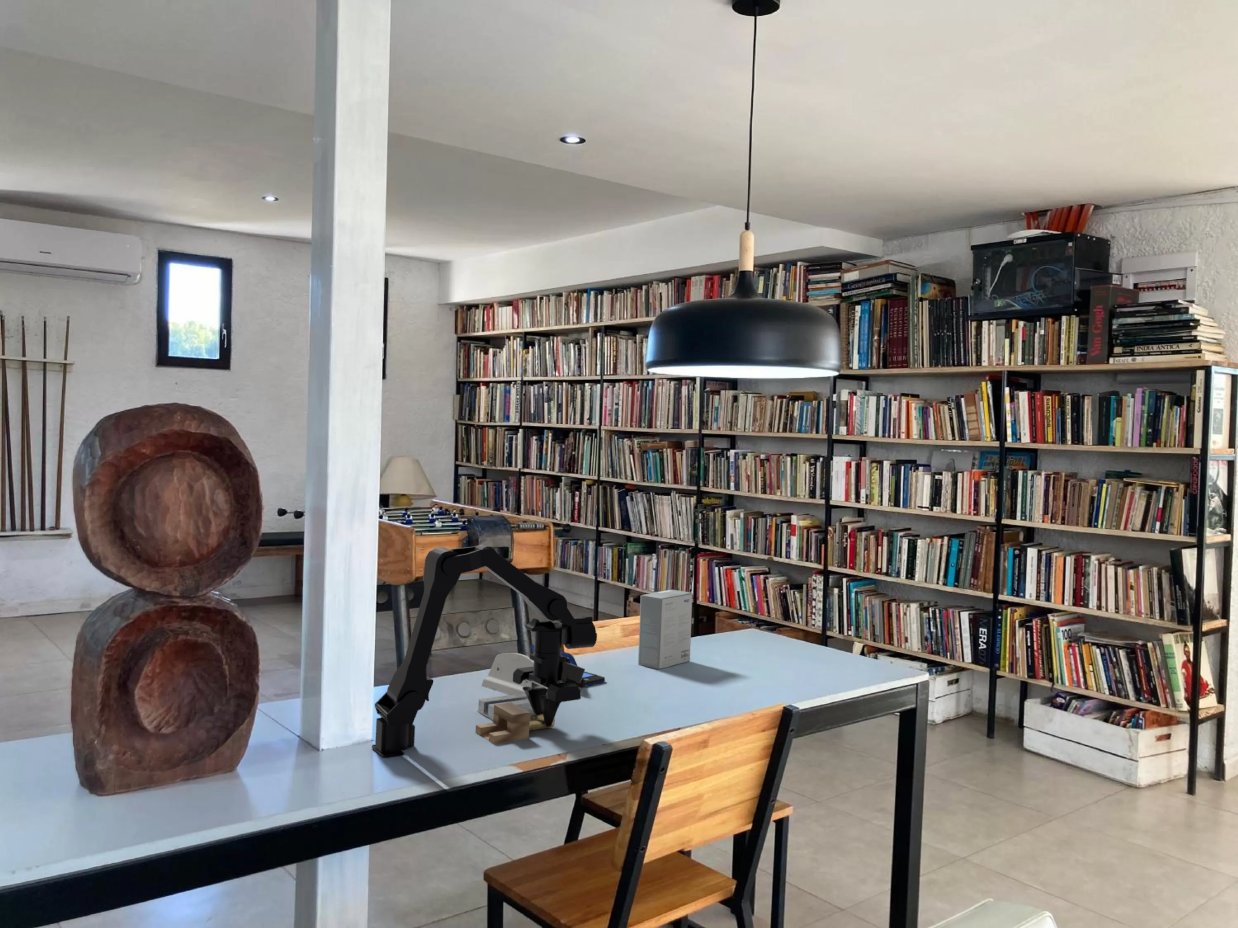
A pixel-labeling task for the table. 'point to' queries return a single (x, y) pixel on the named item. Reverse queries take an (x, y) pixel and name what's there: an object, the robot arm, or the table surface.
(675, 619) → the hard drive box
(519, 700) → the v block
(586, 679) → the handheld game console
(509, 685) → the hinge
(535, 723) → the axle
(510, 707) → the brown notched block
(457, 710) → the table surface
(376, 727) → the robot arm
